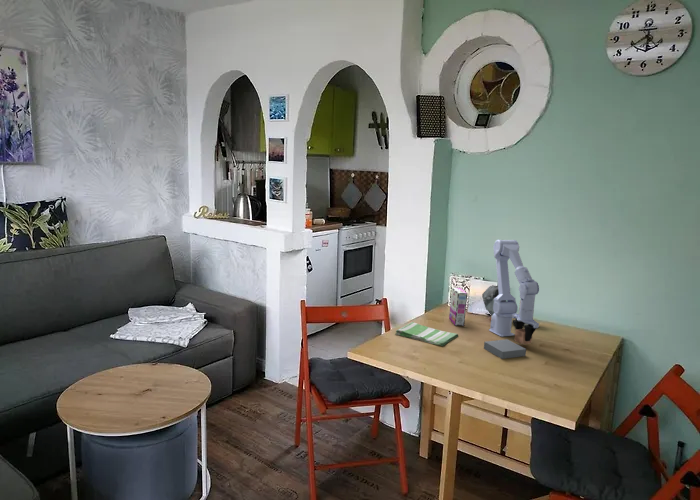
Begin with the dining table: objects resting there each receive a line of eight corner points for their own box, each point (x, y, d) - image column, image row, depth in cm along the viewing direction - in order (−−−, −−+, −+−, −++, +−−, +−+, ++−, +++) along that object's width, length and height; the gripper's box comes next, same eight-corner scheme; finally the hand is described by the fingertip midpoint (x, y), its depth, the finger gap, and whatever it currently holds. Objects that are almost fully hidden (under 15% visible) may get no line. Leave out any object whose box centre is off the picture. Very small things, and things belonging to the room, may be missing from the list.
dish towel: (442, 348, 216) (442, 341, 216) (394, 335, 229) (394, 329, 228) (458, 337, 231) (458, 331, 230) (412, 326, 243) (412, 320, 243)
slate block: (483, 348, 216) (484, 341, 216) (506, 345, 221) (507, 339, 220) (501, 358, 206) (502, 351, 205) (525, 355, 210) (526, 349, 210)
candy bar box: (465, 326, 246) (468, 293, 243) (454, 325, 245) (457, 293, 242) (458, 318, 257) (461, 287, 254) (448, 318, 256) (451, 287, 253)
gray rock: (473, 318, 258) (476, 284, 255) (486, 312, 270) (489, 279, 267) (499, 325, 249) (503, 289, 246) (512, 319, 261) (516, 285, 258)
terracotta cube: (514, 340, 223) (515, 329, 222) (523, 339, 225) (524, 328, 224) (522, 344, 218) (523, 333, 217) (531, 343, 220) (532, 332, 219)
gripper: (508, 304, 224) (504, 333, 226) (530, 314, 211) (527, 345, 213) (520, 303, 227) (517, 332, 229) (544, 313, 213) (540, 343, 216)
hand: (523, 338), depth 221 cm, fingers closed on terracotta cube, 5 cm apart
